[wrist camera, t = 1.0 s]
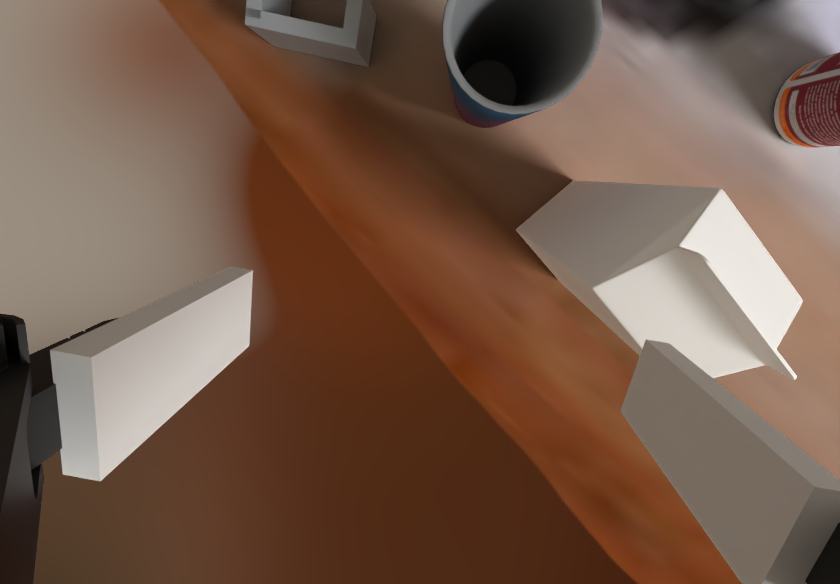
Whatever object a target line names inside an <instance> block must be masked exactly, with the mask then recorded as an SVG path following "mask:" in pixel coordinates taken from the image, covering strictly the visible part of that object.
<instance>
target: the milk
mask: <svg viewBox="0 0 840 584" xmlns="http://www.w3.org/2000/svg"><path fill="white" fill-rule="evenodd" d="M516 231H517V232H518V233H519V235H520V236H521V237H522V238H523V239H524V241H525V242H526V243H527V244H528V245H529V246H530V248H531V249H532V250H533V251H534V252H535V254H536V255H537V256H538V257H539V258H540V259H541V261H542V262H543V263H544V264H545V265H546V266H547V268H548V269H549V270H550V271H551V272H552V274H553V275H554V276H555V277H556V278H557V279H558V281H559V282H561V283H562V284H563V285H564V286H565V287H566V288H567V289H568V290H569V291H570V292H571V293H572V294H574V295H575V296H576V297H577V298H578V299H579V300H580V301H581V302H582V303H583V304H584V305H585V306H587V307H588V308H589V309H590V310H591V311H592V312H593V313H594V314H595V315H596V316H597V317H598V318H599V319H601V320H602V321H603V322H604V323H605V324H606V325H607V326H608V327H609V328H610V329H611V330H612V331H614V332H615V333H616V334H617V335H618V336H619V337H620V338H621V339H622V340H623V341H624V342H625V343H627V344H628V345H629V346H630V347H631V348H632V349H633V350H634V351H635V352H636V353H637V354H638V355H641V352H642V349H643V346H644V343H645V340H646V339H648V340H653V341H659V342H665V343H669V344H671V345H672V346H673V347H674V348H676V349H677V350H678V351H679V352H681V353H682V354H683V355H684V356H686V357H687V358H688V359H689V360H691V361H692V362H693V363H694V364H696V365H697V366H698V367H699V368H701V369H702V370H703V371H704V372H706V373H707V374H708V375H709V376H711V377H712V378H715V377H719V376H723V375H727V374H731V373H735V372H739V371H743V370H747V369H751V368H755V367H759V366H763V365H767V366H769V367H771V368H773V369H774V370H776V371H778V372H780V373H781V374H783V375H785V376H786V377H788V378H790V379H792V380H794V379H796V378H797V376H796V374H795V373H794V372H793V370H792V369H791V368H790V366H789V365H788V364H787V362H786V361H785V360H784V358H783V357H782V356H781V355H780V353H779V352H778V351H777V347H778V345H779V344H780V342H781V340H782V338H783V337H784V335H785V333H786V331H787V329H788V328H789V326H790V324H791V322H792V321H793V319H794V317H795V315H796V314H797V312H798V310H799V308H800V306H801V304H802V302H803V300H802V298H801V297H800V295H799V294H798V293H797V291H796V290H795V288H794V287H793V286H792V284H791V283H790V282H789V280H788V279H787V277H786V276H785V275H784V273H783V272H782V271H781V269H780V268H779V266H778V265H777V264H776V262H775V261H774V259H773V258H772V257H771V255H770V254H769V253H768V251H767V250H766V248H765V247H764V246H763V244H762V243H761V242H760V240H759V239H758V237H757V236H756V235H755V233H754V232H753V230H752V229H751V228H750V226H749V225H748V224H747V222H746V221H745V219H744V218H743V217H742V215H741V214H740V213H739V211H738V210H737V208H736V207H735V206H734V204H733V203H732V202H731V200H730V199H729V197H728V196H727V195H726V193H725V192H724V191H723V189H721V188H707V187H688V186H669V185H650V184H631V183H612V182H592V181H572V182H571V183H570V184H568V185H567V186H566V187H565V188H564V189H562V190H561V191H560V192H559V193H558V194H557V195H555V196H554V197H553V198H552V199H551V200H550V201H548V202H547V203H546V204H545V205H544V206H542V207H541V208H540V209H539V210H538V211H537V212H535V213H534V214H533V215H532V216H531V217H530V218H528V219H527V220H526V221H525V222H524V223H522V224H521V225H520V226H519V227H518V228H517V229H516Z"/></svg>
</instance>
